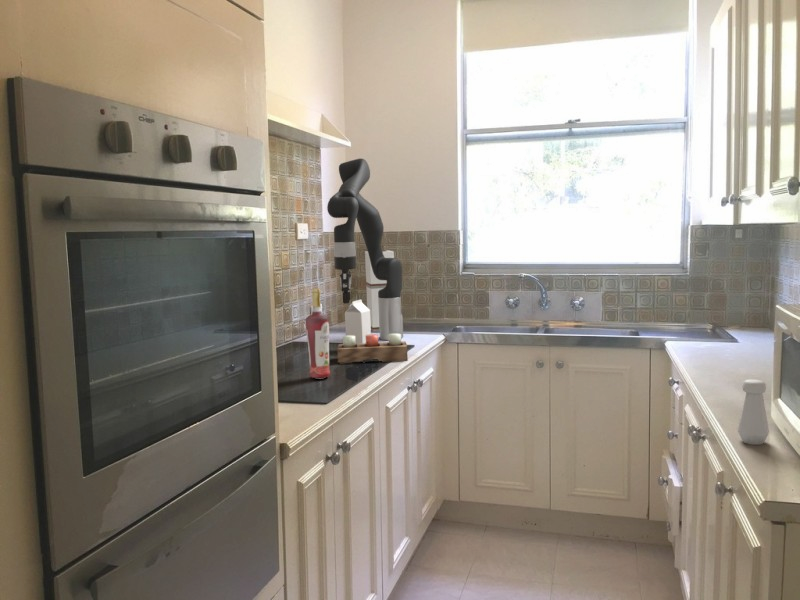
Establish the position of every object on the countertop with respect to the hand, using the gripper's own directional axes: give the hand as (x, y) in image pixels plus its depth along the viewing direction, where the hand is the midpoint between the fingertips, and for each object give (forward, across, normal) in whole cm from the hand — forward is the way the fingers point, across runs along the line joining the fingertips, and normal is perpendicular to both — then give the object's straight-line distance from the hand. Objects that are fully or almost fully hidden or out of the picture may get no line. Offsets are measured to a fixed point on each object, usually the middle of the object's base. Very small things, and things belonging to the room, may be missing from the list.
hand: (346, 301), depth 238 cm
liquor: (+21, +26, -8) cm, 35 cm away
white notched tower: (+20, -66, +12) cm, 70 cm away
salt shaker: (+21, +101, +88) cm, 136 cm away
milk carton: (+21, -18, +3) cm, 28 cm away
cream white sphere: (+16, 0, +16) cm, 23 cm away
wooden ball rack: (+21, 0, +8) cm, 22 cm away
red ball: (+16, 0, +8) cm, 18 cm away
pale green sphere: (+16, 0, 0) cm, 16 cm away
